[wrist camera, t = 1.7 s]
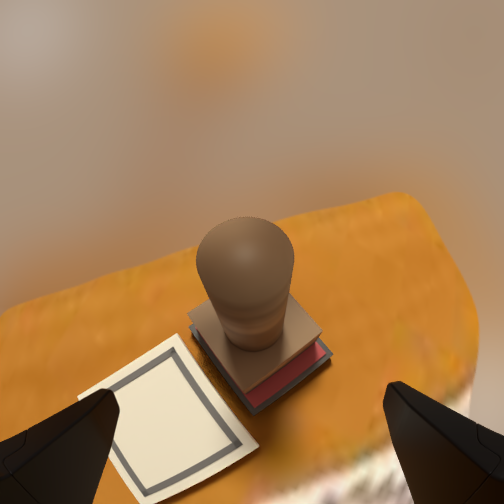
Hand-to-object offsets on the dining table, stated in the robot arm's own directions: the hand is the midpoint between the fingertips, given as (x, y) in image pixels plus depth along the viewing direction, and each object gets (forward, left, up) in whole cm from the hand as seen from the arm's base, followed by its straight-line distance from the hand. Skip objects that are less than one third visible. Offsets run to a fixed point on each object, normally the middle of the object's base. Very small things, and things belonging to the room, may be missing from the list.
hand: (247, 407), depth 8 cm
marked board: (+3, +6, -12) cm, 14 cm away
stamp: (+4, -3, -11) cm, 12 cm away
